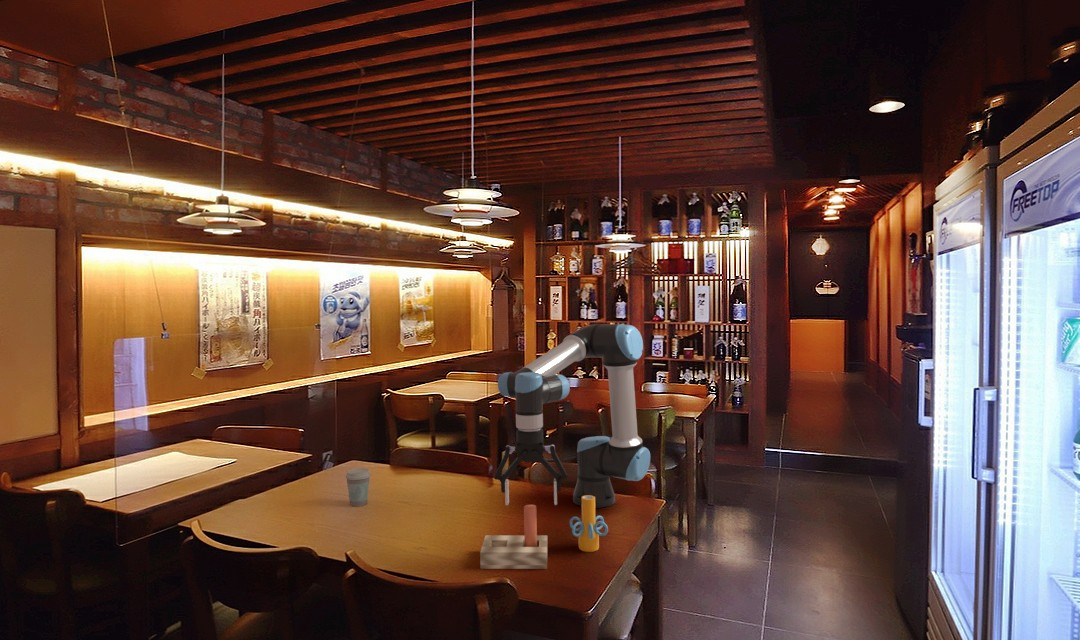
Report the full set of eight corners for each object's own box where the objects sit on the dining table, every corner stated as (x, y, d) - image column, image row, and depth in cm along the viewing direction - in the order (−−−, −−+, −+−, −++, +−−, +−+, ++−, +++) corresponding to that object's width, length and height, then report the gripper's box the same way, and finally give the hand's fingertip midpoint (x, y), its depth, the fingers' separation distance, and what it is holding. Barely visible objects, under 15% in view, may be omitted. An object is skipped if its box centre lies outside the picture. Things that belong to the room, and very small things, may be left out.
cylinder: (568, 540, 184) (567, 491, 183) (602, 539, 185) (601, 490, 184) (573, 557, 172) (573, 505, 171) (610, 556, 173) (609, 503, 172)
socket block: (547, 550, 177) (547, 535, 176) (546, 568, 165) (546, 552, 164) (485, 550, 177) (485, 535, 177) (480, 568, 165) (480, 552, 165)
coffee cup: (341, 506, 217) (340, 473, 217) (356, 499, 225) (356, 467, 225) (360, 509, 214) (360, 475, 214) (375, 501, 222) (375, 469, 222)
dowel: (537, 553, 172) (536, 504, 172) (537, 558, 169) (536, 508, 168) (525, 553, 172) (524, 504, 172) (524, 558, 169) (523, 508, 168)
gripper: (574, 424, 173) (575, 498, 174) (486, 426, 174) (488, 499, 175) (574, 430, 165) (576, 507, 166) (483, 432, 166) (485, 508, 167)
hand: (531, 503), depth 171 cm, fingers open, 13 cm apart
